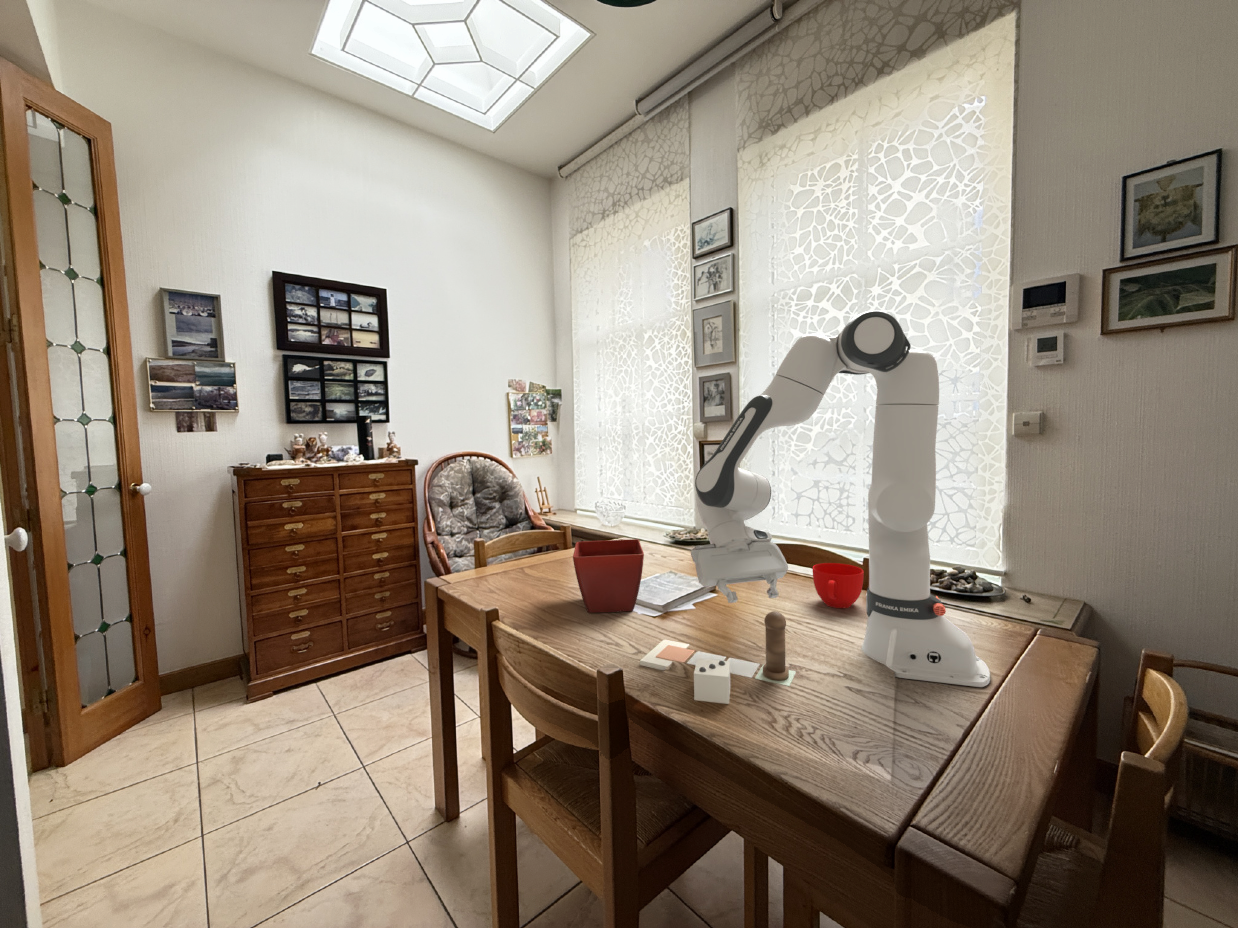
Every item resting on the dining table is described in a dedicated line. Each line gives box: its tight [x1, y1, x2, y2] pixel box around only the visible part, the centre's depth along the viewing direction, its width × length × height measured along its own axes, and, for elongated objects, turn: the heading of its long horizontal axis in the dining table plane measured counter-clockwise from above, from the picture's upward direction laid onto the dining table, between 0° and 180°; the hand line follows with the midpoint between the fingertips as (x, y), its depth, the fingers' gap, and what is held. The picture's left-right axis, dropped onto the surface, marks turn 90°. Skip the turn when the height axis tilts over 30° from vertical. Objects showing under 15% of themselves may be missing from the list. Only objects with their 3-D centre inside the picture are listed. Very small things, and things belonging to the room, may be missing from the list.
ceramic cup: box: [812, 562, 865, 609], centre depth 135 cm, size 13×17×10 cm
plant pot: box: [572, 538, 645, 614], centre depth 141 cm, size 19×19×17 cm
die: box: [693, 658, 731, 705], centre depth 89 cm, size 6×6×7 cm
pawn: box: [763, 610, 790, 681], centre depth 95 cm, size 5×5×12 cm
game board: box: [639, 638, 797, 687], centre depth 101 cm, size 32×12×1 cm, turn 60°
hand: (754, 599), depth 102 cm, fingers open, 8 cm apart
